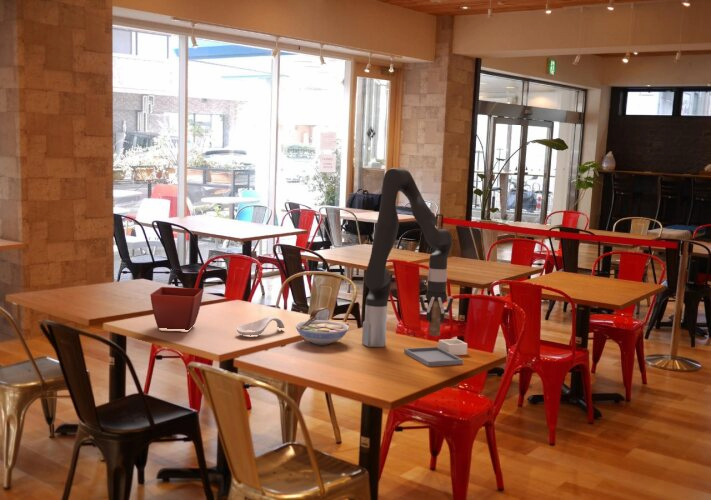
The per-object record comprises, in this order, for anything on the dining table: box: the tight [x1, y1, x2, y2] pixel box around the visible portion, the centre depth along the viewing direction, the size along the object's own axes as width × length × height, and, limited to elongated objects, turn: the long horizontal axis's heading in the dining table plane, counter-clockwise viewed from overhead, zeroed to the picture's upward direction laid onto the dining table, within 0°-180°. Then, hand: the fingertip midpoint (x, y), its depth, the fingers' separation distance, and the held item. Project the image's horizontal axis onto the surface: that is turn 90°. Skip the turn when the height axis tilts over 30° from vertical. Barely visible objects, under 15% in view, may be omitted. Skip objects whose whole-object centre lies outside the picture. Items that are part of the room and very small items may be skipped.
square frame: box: [438, 338, 468, 356], centre depth 333 cm, size 9×9×4 cm
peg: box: [428, 301, 442, 337], centre depth 320 cm, size 3×3×14 cm
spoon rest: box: [236, 316, 285, 336], centre depth 350 cm, size 24×12×7 cm, turn 137°
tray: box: [403, 346, 464, 367], centre depth 322 cm, size 15×21×2 cm
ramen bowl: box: [295, 317, 350, 346], centre depth 339 cm, size 25×23×8 cm
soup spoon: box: [309, 306, 331, 321], centre depth 372 cm, size 15×3×8 cm, turn 152°
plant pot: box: [149, 286, 204, 330], centre depth 351 cm, size 19×19×17 cm
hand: (435, 321), depth 320 cm, fingers closed on peg, 4 cm apart
